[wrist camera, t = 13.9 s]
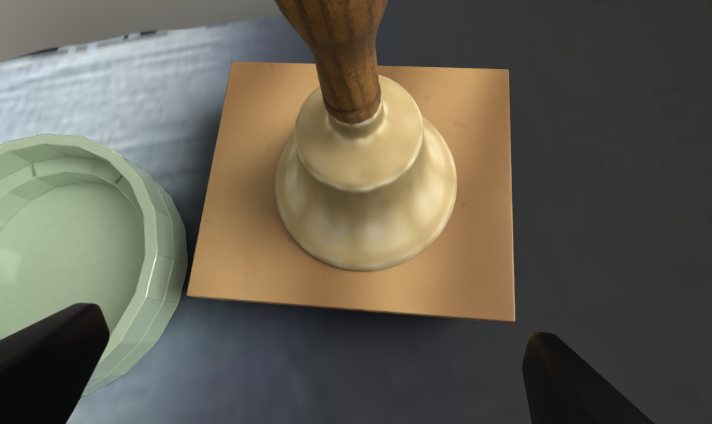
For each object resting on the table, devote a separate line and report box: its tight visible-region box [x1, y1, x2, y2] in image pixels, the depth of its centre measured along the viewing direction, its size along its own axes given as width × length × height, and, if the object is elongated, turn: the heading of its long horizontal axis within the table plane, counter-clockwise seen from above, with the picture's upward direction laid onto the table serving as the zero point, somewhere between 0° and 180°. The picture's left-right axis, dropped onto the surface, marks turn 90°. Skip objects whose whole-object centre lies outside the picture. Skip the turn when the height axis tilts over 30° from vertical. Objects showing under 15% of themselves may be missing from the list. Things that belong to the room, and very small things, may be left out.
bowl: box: [0, 134, 188, 397], centre depth 21 cm, size 13×13×4 cm
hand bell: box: [275, 0, 457, 271], centre depth 11 cm, size 8×8×16 cm
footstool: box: [187, 62, 515, 323], centre depth 21 cm, size 14×12×4 cm
